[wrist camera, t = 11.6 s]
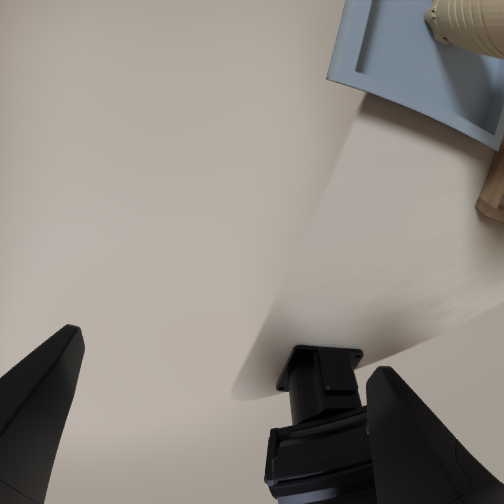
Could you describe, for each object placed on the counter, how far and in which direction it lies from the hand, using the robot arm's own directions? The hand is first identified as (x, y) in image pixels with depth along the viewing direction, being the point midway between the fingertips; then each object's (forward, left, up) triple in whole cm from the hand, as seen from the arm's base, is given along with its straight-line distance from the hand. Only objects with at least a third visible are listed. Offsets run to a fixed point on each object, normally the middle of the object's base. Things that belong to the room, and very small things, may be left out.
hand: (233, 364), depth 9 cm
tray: (+14, -9, -12) cm, 21 cm away
